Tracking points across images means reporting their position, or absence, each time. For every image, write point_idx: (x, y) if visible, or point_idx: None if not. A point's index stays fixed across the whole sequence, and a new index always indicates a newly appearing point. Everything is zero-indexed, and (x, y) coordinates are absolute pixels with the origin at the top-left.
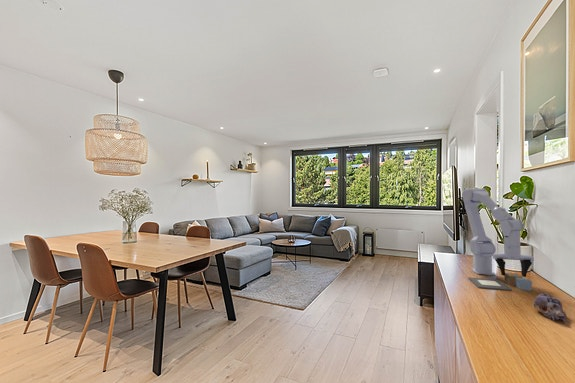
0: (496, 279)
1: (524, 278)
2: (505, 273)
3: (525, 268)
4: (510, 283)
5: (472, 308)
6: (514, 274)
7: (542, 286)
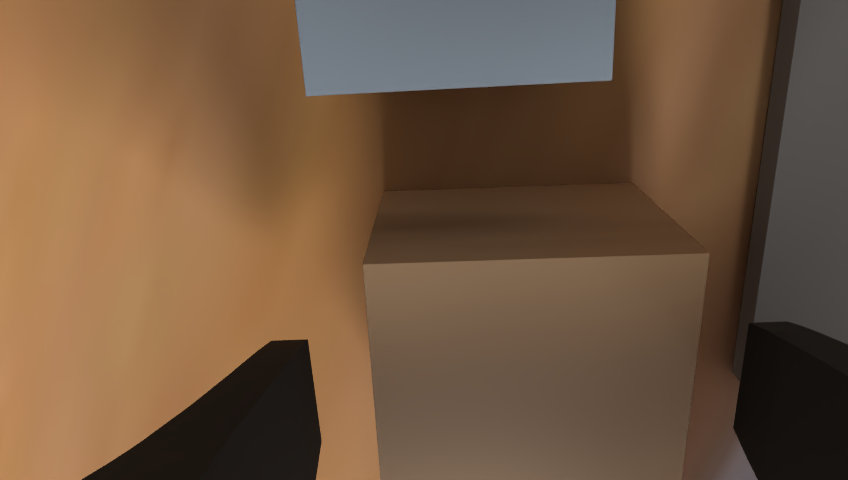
0: None
1: (383, 46)
2: (682, 460)
3: (185, 475)
4: (610, 191)
5: None
6: (489, 431)
7: (48, 240)
